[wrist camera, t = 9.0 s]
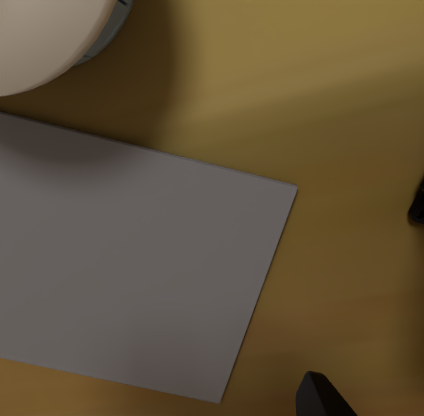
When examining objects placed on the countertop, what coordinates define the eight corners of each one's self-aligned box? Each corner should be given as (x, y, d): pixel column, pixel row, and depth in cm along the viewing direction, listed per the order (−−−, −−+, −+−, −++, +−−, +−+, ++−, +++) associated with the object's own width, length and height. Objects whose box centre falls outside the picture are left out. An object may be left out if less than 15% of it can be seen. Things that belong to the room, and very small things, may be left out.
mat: (296, 185, 19) (297, 187, 19) (219, 398, 26) (219, 404, 25) (-18, 106, 18) (-24, 107, 18) (-13, 348, 25) (-18, 354, 24)
